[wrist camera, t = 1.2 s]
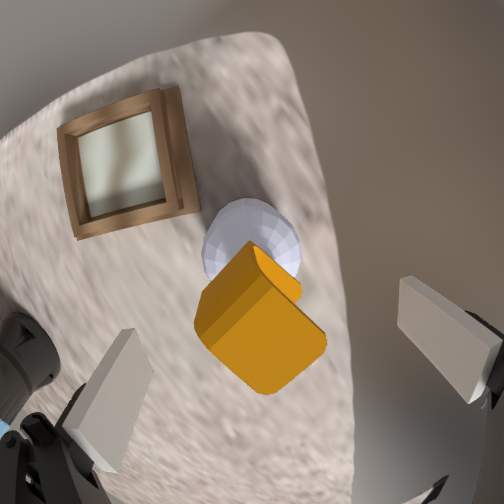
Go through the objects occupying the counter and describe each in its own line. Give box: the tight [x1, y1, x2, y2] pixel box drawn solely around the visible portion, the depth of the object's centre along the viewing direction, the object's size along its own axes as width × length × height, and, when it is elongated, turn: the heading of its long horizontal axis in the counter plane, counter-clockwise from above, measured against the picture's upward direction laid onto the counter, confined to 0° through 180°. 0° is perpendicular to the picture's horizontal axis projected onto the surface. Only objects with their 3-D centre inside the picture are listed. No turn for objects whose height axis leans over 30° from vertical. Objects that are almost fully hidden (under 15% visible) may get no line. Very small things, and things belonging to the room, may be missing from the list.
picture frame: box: [57, 86, 201, 241], centre depth 29 cm, size 18×16×4 cm
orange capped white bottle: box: [194, 198, 327, 395], centre depth 22 cm, size 9×9×25 cm
